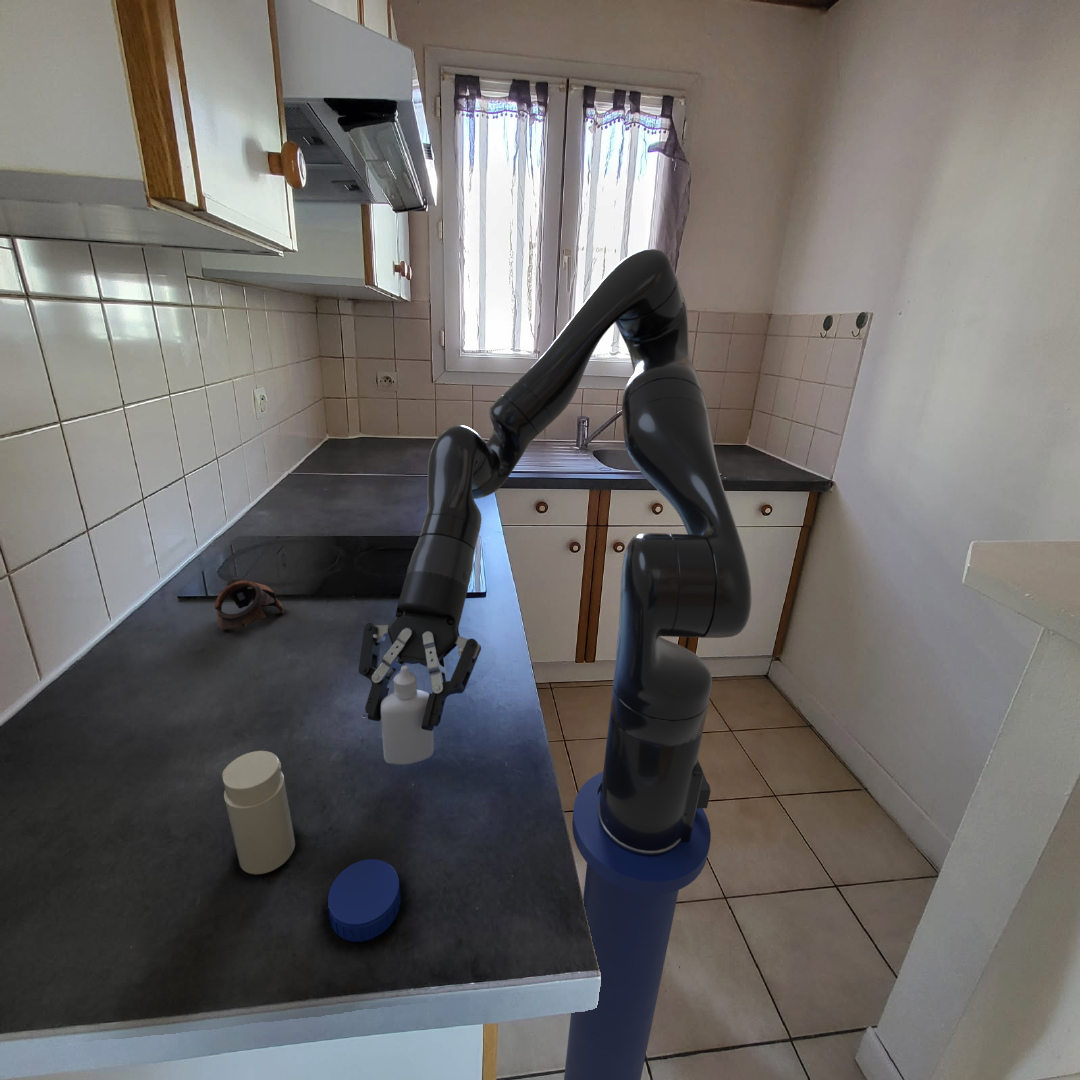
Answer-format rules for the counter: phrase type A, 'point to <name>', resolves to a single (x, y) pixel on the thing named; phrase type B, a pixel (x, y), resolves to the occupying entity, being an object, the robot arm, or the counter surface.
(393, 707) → the eye dropper bottle
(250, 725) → the counter surface
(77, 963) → the counter surface
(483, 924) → the counter surface
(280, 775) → the jar
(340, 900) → the lid
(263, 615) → the brown curved piece
